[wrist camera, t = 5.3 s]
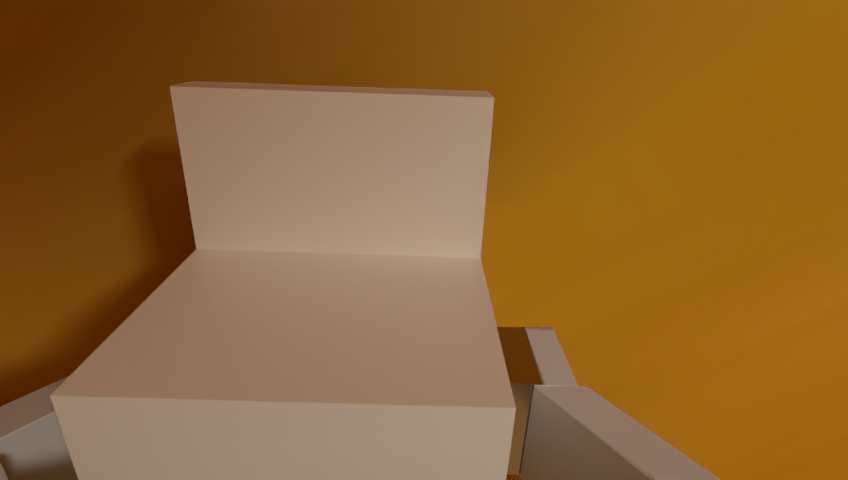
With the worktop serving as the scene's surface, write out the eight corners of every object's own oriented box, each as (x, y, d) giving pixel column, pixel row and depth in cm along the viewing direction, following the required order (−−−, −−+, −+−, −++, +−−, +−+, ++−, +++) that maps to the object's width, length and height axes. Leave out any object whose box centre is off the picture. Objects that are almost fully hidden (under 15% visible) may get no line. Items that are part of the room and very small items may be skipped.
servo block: (247, 66, 9) (-92, 154, 3) (473, 74, 9) (565, 175, 3) (288, 457, 13) (171, 833, 7) (446, 461, 13) (464, 838, 7)
